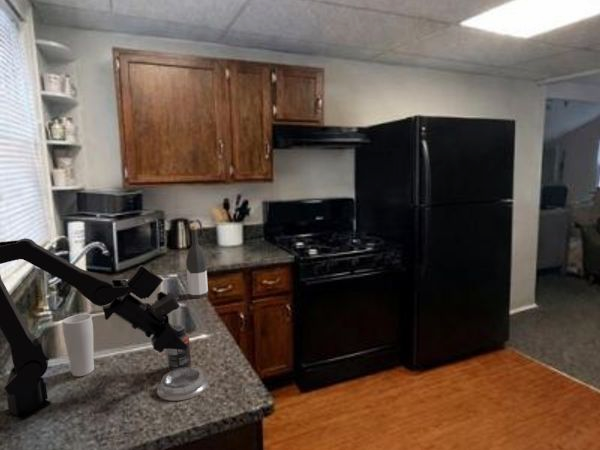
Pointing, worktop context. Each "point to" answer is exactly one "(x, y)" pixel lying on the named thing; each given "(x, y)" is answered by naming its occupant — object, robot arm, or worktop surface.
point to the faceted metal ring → (182, 384)
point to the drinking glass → (79, 343)
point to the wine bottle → (196, 268)
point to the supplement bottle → (179, 352)
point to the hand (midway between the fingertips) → (183, 343)
